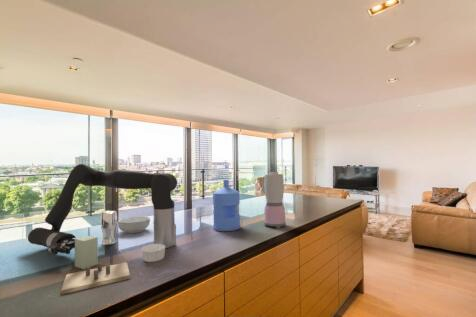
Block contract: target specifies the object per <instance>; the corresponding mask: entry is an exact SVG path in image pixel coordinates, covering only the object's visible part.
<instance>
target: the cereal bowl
mask: <svg viewBox="0 0 476 317" xmlns="http://www.w3.org/2000/svg"><path fill="white" fill-rule="evenodd" d="M150 222H151V218H150V217H149V216H133V217H126V218H121V219H119V220H118V219H117V226H118V229H119V230H120V231H122V232H125V233H127V234H137V233H141V232H142V231H143V230H145V229H147V228H148V227H149V226H150Z"/></svg>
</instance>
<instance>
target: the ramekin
mask: <svg viewBox="0 0 476 317" xmlns="http://www.w3.org/2000/svg"><path fill="white" fill-rule="evenodd" d="M165 247H166V246H165V245H163V244H154V243H151V244H148V245H145V246H143V247H142V248H141V252H142V259H143V261H144V262H145V263H154V262H157V261H161V260H162V259H164V258H165V254H166V253H165V252H166V248H165Z"/></svg>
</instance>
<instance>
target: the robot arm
mask: <svg viewBox="0 0 476 317" xmlns="http://www.w3.org/2000/svg"><path fill="white" fill-rule="evenodd" d="M79 185H81V186H86V187H101V186H102V187H103V186H104V187H108V188H114V189H121V190H124V189H125V190H142V189H143V190H145V189H150V193H151V194H150V195H151V196H150V197H151V202H152V205H153V244H163V245H165V246H166V247H165V249H169V248H172V247H174V246H176V245H177V224H176V223H175V222H176V221H175V220H176V218H175V201H174V200H173V199H172V195H171V192H172V191H174V190H175V189H176V187H177V185H178V179H177V177H175V175H173V174H171V173H169V172H164V173H149V172H143V171H138V170H130V169H121V168H120V169H114V170H111V171H103V170H98V169H95V168H93V167H91V166H89V165H87V164H85V163H79V164H77V165H75V166H74V167H73V168H72V170H71V171H70V173H69V175H68V177H67V179H66V181H65V183H64V185H63V187H62V190H61V191H60V194H59V197H58V198H57V200H56V202H55V204H54V205H53V206H52V208H51V210H49V212H48V213H47V215H46V217H44V218H45V219H44V222H45V223H46V224H48V225H50V226H51V229H49V228H45V227H40V226H39V227H35V228H33V229H31V231H30V232H29V233H28V235H27V240H28V242H29V244H32V245H39V246H42V247H46V248H48V250H47V251H48V253H49V254H51V255H53V256H56V255H58V253H59V254H65V255H69V254H71V251H72V250H73V249H74V250H75V239H76V238H77V237H76V236H75V235H74V234H73V233H69V232H65V231H61V229H62V226H63V223H64V221H65V220H66V219H67V217H68V216H69V214H70V212H71V210H72V207H73V202H74V195H75V192H76V190H77V188H78V187H79Z"/></svg>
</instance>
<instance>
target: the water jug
mask: <svg viewBox="0 0 476 317" xmlns="http://www.w3.org/2000/svg"><path fill="white" fill-rule="evenodd" d="M229 180H230V179H223V187H221V188H220V189H217V190H216V191H213V193H212V204H213V206H212V208H213V210H212V212H213V213H212V214H213V216H212V217H213V226H212V227H213V229H214V231H218V232H234V231H237V230H240V228H241V216H240V214H238V206H239V205H240V203H241V201H240V200H241V198H240V197H241V196H240V191H238V190H236V189H234V188H232V187H230V186H229V185H230V183H229Z"/></svg>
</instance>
